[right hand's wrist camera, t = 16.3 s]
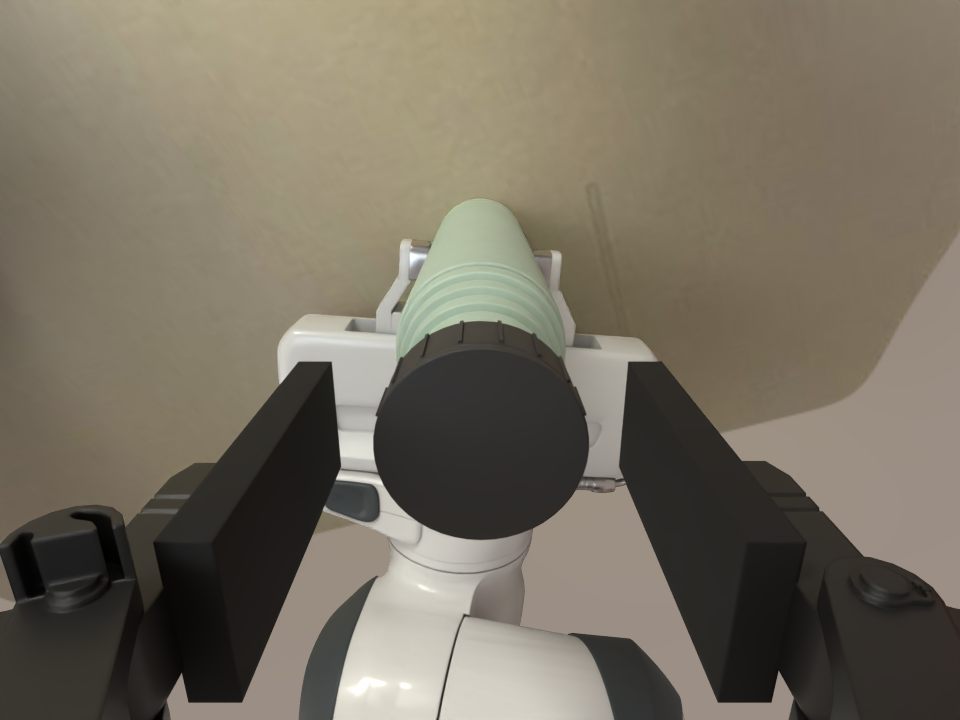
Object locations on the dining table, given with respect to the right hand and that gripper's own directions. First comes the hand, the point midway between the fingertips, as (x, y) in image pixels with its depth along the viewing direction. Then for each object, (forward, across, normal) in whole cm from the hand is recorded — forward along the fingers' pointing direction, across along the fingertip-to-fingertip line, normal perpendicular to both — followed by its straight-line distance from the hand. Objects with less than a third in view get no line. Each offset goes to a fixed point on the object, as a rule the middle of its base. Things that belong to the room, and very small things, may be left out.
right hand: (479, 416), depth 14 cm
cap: (-1, 0, 0) cm, 1 cm away
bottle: (+25, 0, 0) cm, 25 cm away
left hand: (+18, 0, -1) cm, 18 cm away
